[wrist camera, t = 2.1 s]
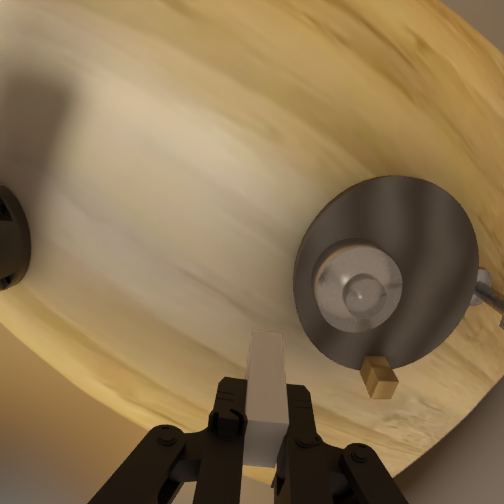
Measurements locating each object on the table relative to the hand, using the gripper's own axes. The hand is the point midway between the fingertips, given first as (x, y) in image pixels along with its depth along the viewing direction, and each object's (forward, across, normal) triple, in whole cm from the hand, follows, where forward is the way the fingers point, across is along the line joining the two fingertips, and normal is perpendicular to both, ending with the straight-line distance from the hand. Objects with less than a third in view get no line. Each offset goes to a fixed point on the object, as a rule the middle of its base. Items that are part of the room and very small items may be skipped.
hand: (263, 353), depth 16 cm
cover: (+15, +9, 0) cm, 17 cm away
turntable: (+17, +14, 0) cm, 22 cm away
